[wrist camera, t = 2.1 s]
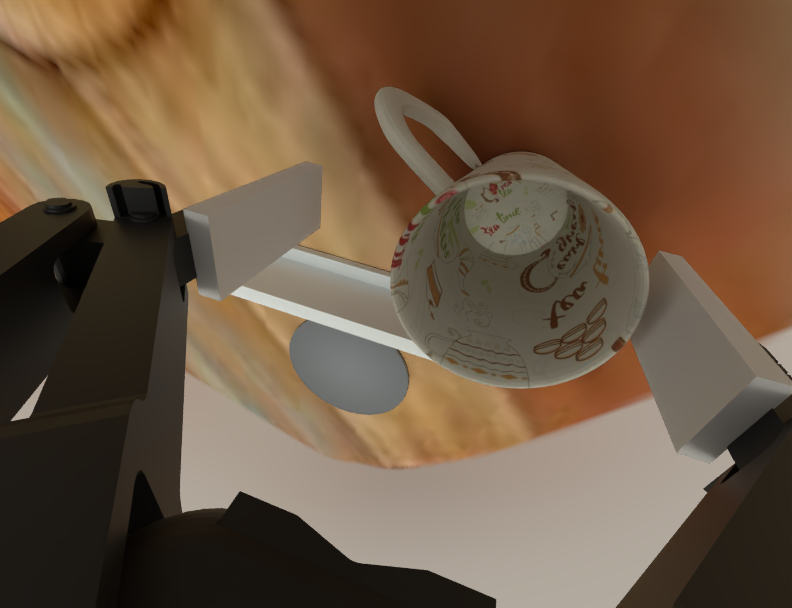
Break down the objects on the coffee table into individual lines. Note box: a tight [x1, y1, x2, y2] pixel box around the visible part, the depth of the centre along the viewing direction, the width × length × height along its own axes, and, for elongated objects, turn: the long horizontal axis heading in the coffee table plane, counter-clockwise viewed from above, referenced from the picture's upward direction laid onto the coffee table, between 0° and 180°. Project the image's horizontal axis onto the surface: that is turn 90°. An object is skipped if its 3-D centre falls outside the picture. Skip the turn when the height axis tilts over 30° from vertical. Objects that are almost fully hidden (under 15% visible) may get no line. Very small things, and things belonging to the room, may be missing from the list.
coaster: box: [290, 320, 409, 415], centre depth 31 cm, size 11×11×1 cm
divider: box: [231, 245, 433, 361], centre depth 24 cm, size 3×18×5 cm, turn 81°
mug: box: [374, 87, 649, 388], centre depth 16 cm, size 8×13×10 cm, turn 48°
